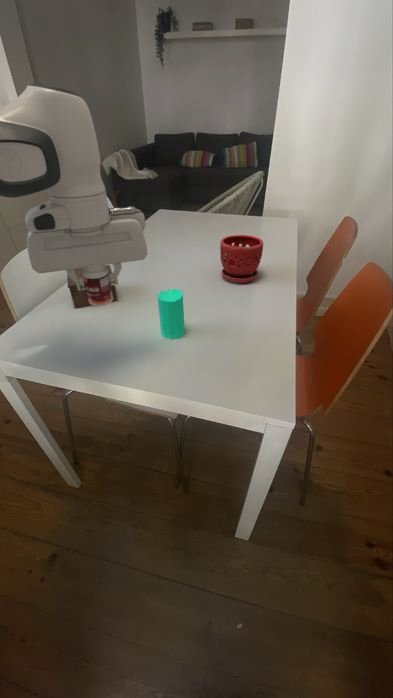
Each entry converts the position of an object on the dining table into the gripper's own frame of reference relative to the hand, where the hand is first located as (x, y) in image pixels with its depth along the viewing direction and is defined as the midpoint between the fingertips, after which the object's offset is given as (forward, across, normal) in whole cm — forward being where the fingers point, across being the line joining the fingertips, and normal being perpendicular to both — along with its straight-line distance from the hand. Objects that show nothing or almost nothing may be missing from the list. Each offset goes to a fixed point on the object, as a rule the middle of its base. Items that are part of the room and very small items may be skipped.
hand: (98, 286), depth 61 cm
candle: (+18, -16, -5) cm, 24 cm away
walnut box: (+18, +2, -31) cm, 36 cm away
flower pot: (+17, -44, -28) cm, 55 cm away
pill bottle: (+3, 0, 0) cm, 3 cm away
